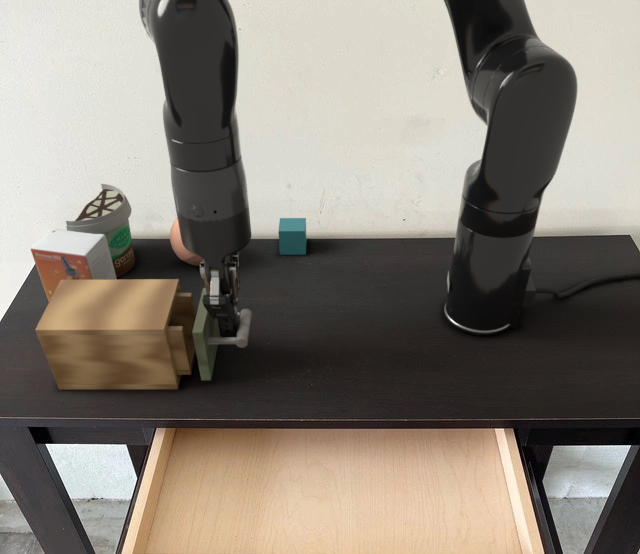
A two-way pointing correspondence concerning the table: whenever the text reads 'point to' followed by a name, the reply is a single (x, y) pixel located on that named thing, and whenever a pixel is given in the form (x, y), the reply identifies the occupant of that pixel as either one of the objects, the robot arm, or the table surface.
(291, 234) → the block
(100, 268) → the small box
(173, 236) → the toy ball
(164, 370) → the wooden drawer cabinet
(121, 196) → the food container
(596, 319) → the table surface
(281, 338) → the table surface
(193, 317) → the wooden drawer
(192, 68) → the robot arm
